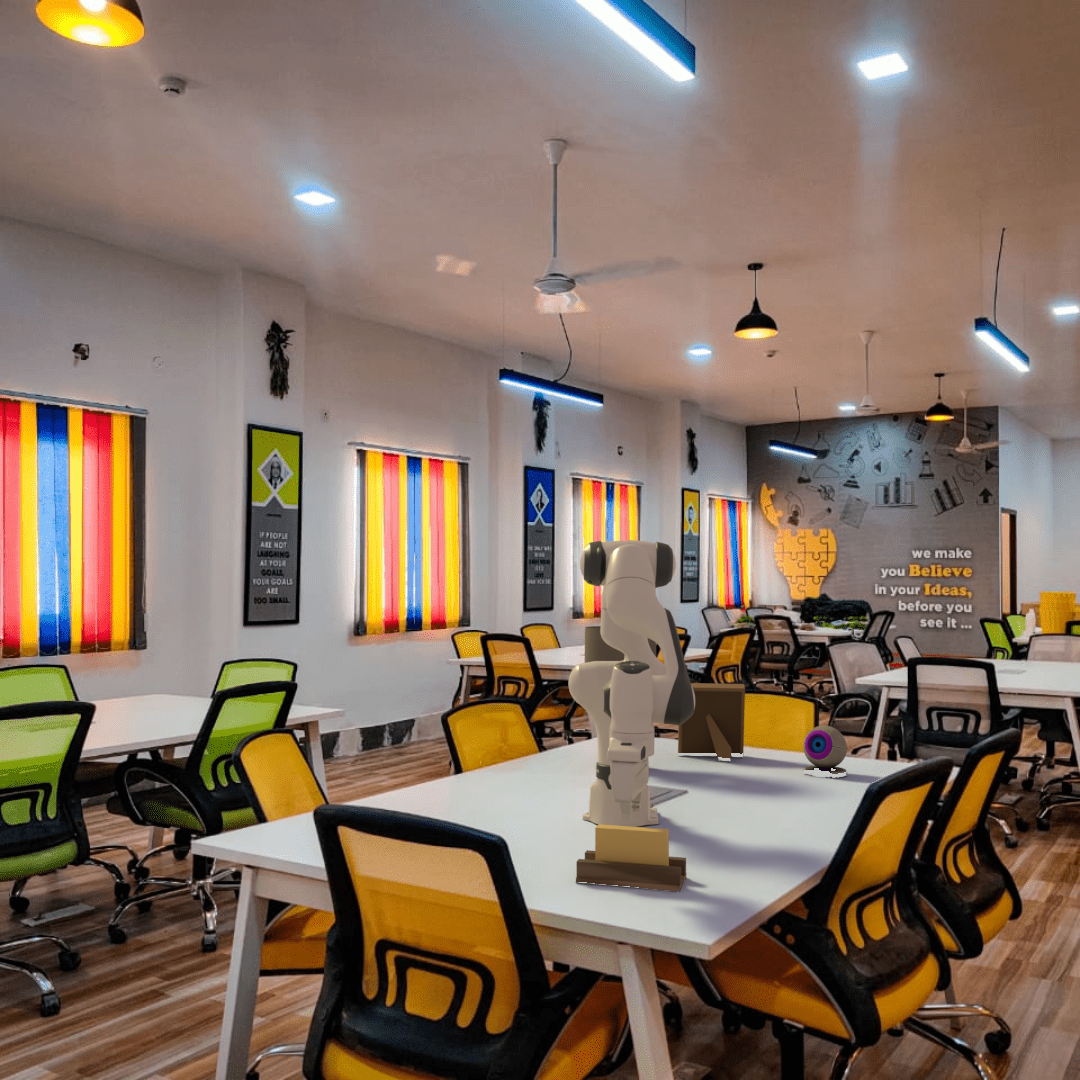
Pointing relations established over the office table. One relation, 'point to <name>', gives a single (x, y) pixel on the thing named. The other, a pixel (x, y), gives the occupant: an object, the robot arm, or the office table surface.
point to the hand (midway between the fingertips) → (631, 816)
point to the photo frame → (715, 721)
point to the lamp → (604, 647)
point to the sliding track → (632, 873)
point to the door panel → (632, 844)
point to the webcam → (825, 749)
